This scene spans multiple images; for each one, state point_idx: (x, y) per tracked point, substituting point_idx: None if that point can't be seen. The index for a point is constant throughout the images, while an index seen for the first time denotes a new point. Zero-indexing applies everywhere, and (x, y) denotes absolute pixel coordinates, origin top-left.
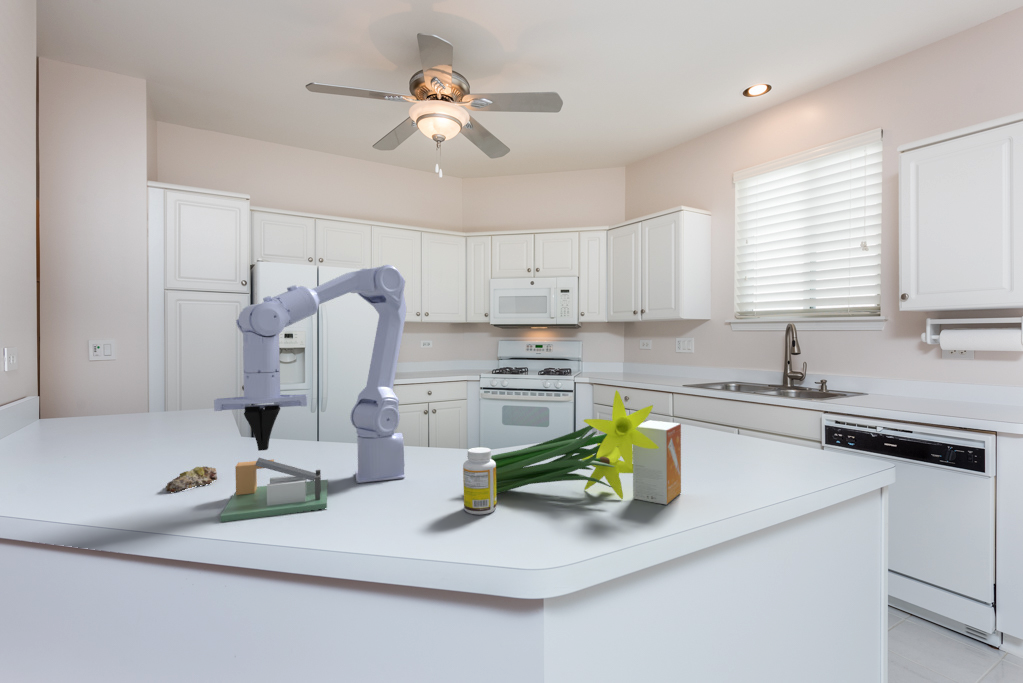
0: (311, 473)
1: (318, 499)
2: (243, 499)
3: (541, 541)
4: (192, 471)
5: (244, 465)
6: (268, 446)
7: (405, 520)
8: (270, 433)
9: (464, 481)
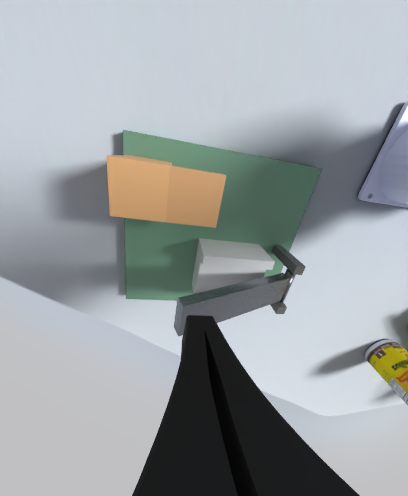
0: (280, 289)
1: None
2: (150, 232)
3: (355, 397)
4: None
5: (137, 216)
6: (214, 320)
7: (314, 350)
8: (234, 360)
9: (396, 383)
